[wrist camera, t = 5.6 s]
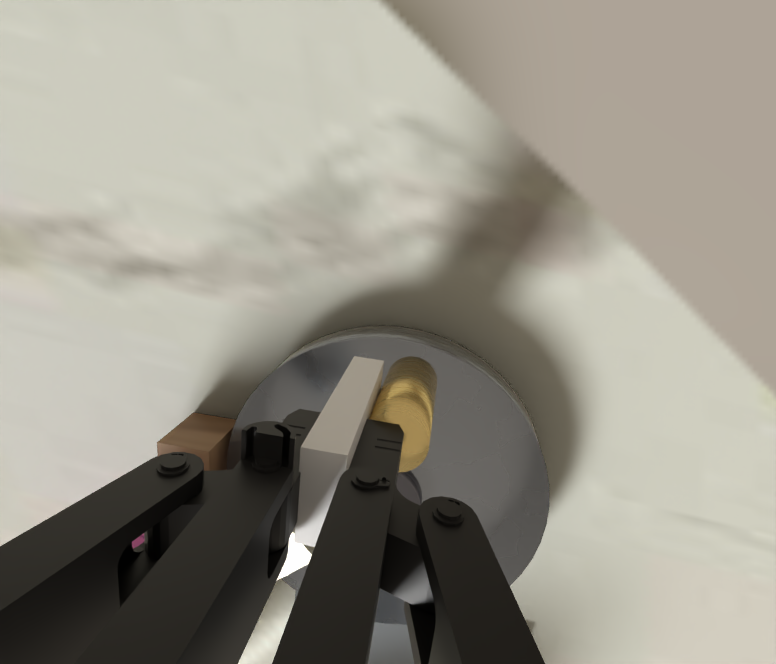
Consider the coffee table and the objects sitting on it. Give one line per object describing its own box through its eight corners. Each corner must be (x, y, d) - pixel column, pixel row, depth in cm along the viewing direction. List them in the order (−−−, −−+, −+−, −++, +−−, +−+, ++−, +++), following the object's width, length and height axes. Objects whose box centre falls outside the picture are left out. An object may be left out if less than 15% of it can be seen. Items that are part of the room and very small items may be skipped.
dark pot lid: (269, 289, 21) (180, 334, 14) (588, 375, 20) (651, 467, 13) (228, 542, 25) (144, 668, 19) (488, 624, 24) (499, 788, 18)
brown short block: (193, 412, 24) (157, 442, 21) (239, 420, 24) (209, 451, 21) (194, 448, 24) (158, 481, 22) (239, 456, 24) (209, 491, 21)
